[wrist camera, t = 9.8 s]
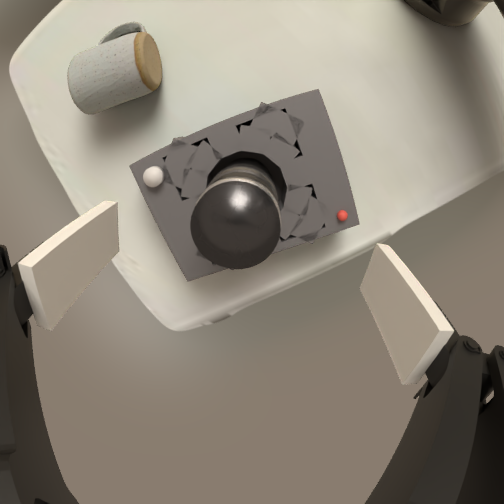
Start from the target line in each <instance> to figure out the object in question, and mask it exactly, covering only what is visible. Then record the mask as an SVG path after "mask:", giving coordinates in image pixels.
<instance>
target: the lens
mask: <svg viewBox="0 0 504 504" xmlns="http://www.w3.org/2000/svg"><path fill="white" fill-rule="evenodd" d="M190 230H191V235H192V239H193V241H194V244H195V245H196V247H197V249H198V250H199V251H200V253H201V254H202V255H203V256H204V257H205V258H207V259H208V260H209V261H211V262H213V263H214V264H216V265H219V266H222V267H225V268H230V269H243V268H249V267H252V266H255V265H257V264H259V263H261V262H262V261H264V260H265V259H266V258H267V257H268V256H269V255H270V254H271V253H272V252H273V251H274V249H275V247H276V246H277V243H278V241H279V237H280V231H281V215H280V209H279V201H278V196H277V192H276V188H275V185H274V183H273V181H272V177H271V174H270V172H269V170H268V169H267V167H266V166H265V165H264V164H263V163H261V162H260V161H258V160H255V159H252V158H239V159H236V160H234V161H232V162H230V163H229V164H228V165H226V167H225V168H224V169H223V170H221V171H220V172H219V173H218V174H217V175H216V176H215V177H214V179H213V180H212V181H211V182H210V183H209V185H208V186H207V188H206V189H205V191H204V192H203V193H202V195H201V196H200V197H199V199H198V201H197V202H196V205H195V207H194V210H193V212H192V216H191V221H190Z"/></svg>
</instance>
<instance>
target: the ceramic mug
mask: <svg viewBox="0 0 504 504" xmlns="http://www.w3.org/2000/svg"><path fill="white" fill-rule="evenodd" d="M134 31H141V32H136V33H130V34H127V35H124V36H121V37H118V36H120V35H122V34H125V33H129V32H134ZM117 37H118V38H117ZM115 38H116V39H115ZM161 80H162V66H161V59H160V54H159V51H158V48H157V45H156V43H155V41H154V39H153V38H152V36H151V35H150V34H148V33H147V31H146V29H145V28H144V26H143V25H142V24H141V23H138V22H130V23H125V24H122V25H120V26H118V27H116V28H114V29H112V30H111V31H109V32H108V33H107V34H106V35H105V36H104V37H103V38H102V40H101V41H100V42H99V44H98V45H97V46H95V47H92V48H90V49H87V50H85V51H83V52H80V53H79V54H77V55H75V56H74V58H73V59H72V60H71V62H70V65H69V68H68V87H69V91H70V94H71V97H72V99H73V101H74V103H75V104H76V106H77V107H78V108H79V109H80V110H81V111H82V112H84V113H86V114H96V113H99V112H101V111H103V110H106V109H108V108H111V107H114V106H116V105H119V104H122V103H124V102H127V101H130V100H133V99H136V98H139V97H142V96H145V95H147V94H149V93H151V92H153V91H154V90H156V89H157V88H158V87H159V85H160V83H161Z"/></svg>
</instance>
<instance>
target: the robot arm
mask: <svg viewBox="0 0 504 504" xmlns="http://www.w3.org/2000/svg"><path fill="white" fill-rule="evenodd" d="M405 1H406V2H407V3H408V4H409V5H410V6H412V7H413V8H414V9H415V10H417V11H418V12H420V13H421V14H423V15H424V16H426V17H427V18H429V19H431V20H433V21H435V22H437V23H440V24H443V25H446V26H460V25H463V24H466V23H469V22H471V21H472V20H473V19H474V18H475V17H476V16H477V15H478V14H479V13H480V12H481V11H482V10H483V8H484V7H485V6H486V5H487V4H488V3H490V2H493V1H494V2H495V4H496V5H497V7H498V9H499V10H500V12H501V14H502V16H503V18H504V0H405ZM118 252H119V236H118V206H117V202H113V201H104V202H102V203H100V204H99V205H97V206H96V207H94V208H93V209H91V210H89V211H88V212H86V213H85V214H83V215H82V216H80V217H79V218H77V219H76V220H74V221H73V222H71V223H70V224H69V225H67V226H66V227H64V228H63V229H61V230H60V231H59V232H57V233H56V234H54V235H53V236H52V237H50V238H49V239H48V240H46V241H44V242H42V243H41V244H40V245H38V246H37V247H36V248H35V249H33V250H32V251H31V252H30V253H29V254H27V255H26V256H25V257H23V258H22V259H21V260H19V261H18V262H17V263H16V264H15V265H14V266H13V267H11V264H10V260H9V256H8V252H7V248H6V247H5V246H4V245H0V504H79V503H78V502H77V500H76V499H75V497H74V496H73V495H72V493H71V492H70V491H69V490H68V488H67V487H66V484H65V482H64V480H63V478H62V475H61V472H60V469H59V467H58V464H57V461H56V459H55V455H54V452H53V449H52V446H51V443H50V439H49V436H48V432H47V428H46V425H45V421H44V417H43V412H42V408H41V403H40V398H39V393H38V387H37V381H36V374H35V367H34V359H33V349H32V337H31V326H30V322H29V320H28V319H29V318H30V316H31V315H32V314H34V317H35V320H36V323H37V325H38V326H39V327H42V328H44V329H47V330H49V331H52V330H53V328H54V327H55V326H56V325H57V323H58V322H59V321H60V319H61V318H62V317H63V316H64V314H65V313H66V312H67V311H68V309H69V308H70V307H71V305H72V304H73V303H74V302H75V301H76V299H77V298H78V297H79V296H80V295H81V294H82V292H83V291H84V290H85V289H86V288H87V286H88V285H89V284H90V283H91V282H92V281H93V280H94V278H95V277H96V276H97V275H98V274H99V273H100V272H101V270H102V269H103V268H104V267H105V266H106V265H107V264H108V263H109V262H110V261H111V259H112V258H113V257H114V256H115V255H116V254H117V253H118ZM360 290H361V292H362V294H363V297H364V299H365V301H366V303H367V305H368V307H369V309H370V311H371V313H372V316H373V318H374V320H375V322H376V324H377V326H378V329H379V331H380V333H381V335H382V338H383V340H384V342H385V344H386V347H387V349H388V351H389V354H390V355H391V359H392V361H393V363H394V366H395V368H396V371H397V373H398V376H399V378H400V381H401V383H402V385H405V384H417V382H418V381H419V380H420V379H421V378H422V376H423V375H424V374H425V373H426V375H427V378H428V380H427V382H426V383H425V384H424V385H423V387H422V388H421V389H420V390H419V391H418V393H417V394H416V395H415V396H414V399H416V398H417V397H418V396H419V399H418V402H417V404H416V407H415V409H414V412H413V414H412V417H411V419H410V421H409V424H408V426H407V428H406V430H405V433H404V435H403V437H402V439H401V441H400V443H399V445H398V447H397V449H396V451H395V453H394V455H393V457H392V459H391V461H390V463H389V465H388V466H387V468H386V470H385V472H384V473H383V475H382V477H381V479H380V481H379V482H378V484H377V485H376V487H375V489H374V490H373V492H372V493H371V495H370V496H369V498H368V500H367V501H366V503H365V504H504V347H502V346H499V345H497V346H495V347H494V349H493V350H492V352H491V353H490V354H486V353H483V352H482V349H481V347H480V346H479V344H478V343H477V342H476V341H475V340H473V339H472V338H470V337H468V336H459V334H458V333H457V331H456V330H455V328H454V327H453V325H452V324H451V322H450V321H449V320H448V318H446V315H445V314H444V313H443V312H442V310H441V309H440V307H439V306H438V304H437V303H436V302H435V301H434V300H433V299H431V297H430V296H429V295H428V293H427V292H426V291H425V289H424V288H423V287H422V285H421V284H420V283H419V282H418V280H417V279H416V278H415V276H414V275H413V274H412V273H411V272H410V270H409V269H408V268H407V267H406V265H405V264H404V263H403V262H402V260H401V259H400V258H399V257H398V256H397V255H396V253H395V252H394V251H393V250H392V249H391V248H390V246H388V245H383V244H378V243H376V246H375V249H374V252H373V255H372V258H371V260H370V263H369V266H368V268H367V271H366V274H365V276H364V279H363V281H362V284H361V286H360ZM493 390H494V397H493V398H492V399H491V400H490V401H489V402H488V403H487V404H486V398H487V397H488V396H489V395H490V394H491V392H492V391H493Z"/></svg>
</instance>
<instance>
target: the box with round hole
mask: <svg viewBox="0 0 504 504" xmlns="http://www.w3.org/2000/svg"><path fill="white" fill-rule="evenodd" d="M239 158H252V159H255V160H258V161H260V162H261V163H263V164H264V165H265V166H266V167H267V169H268V170H269V172H270V174H271V177H272V181H273V183H274V185H275V188H276V192H277V196H278V201H279V209H280V215H281V231H280V237H279V241H278V243H277V246H276V247H275V249H274V251H273V252H272V253H271V254H273V253H276V252H279V251H282V250H285V249H288V248H291V247H294V246H297V245H300V244H303V243H306V242H309V243H311V244H313V242H314V240H315V239H318V238H321V237H324V236H327V235H330V234H333V233H335V232H338V231H341V230H344V229H347V228H350V227H353V226H356V225H359V219H358V215H357V211H356V207H355V203H354V199H353V195H352V191H351V187H350V183H349V180H348V176H347V172H346V169H345V166H344V162H343V159H342V155H341V152H340V149H339V146H338V143H337V140H336V136H335V133H334V130H333V127H332V125H331V122H330V119H329V116H328V113H327V110H326V108H325V105H324V102H323V99H322V97H321V94H320V92H319V89H317V90H313V91H309V92H306V93H302V94H299V95H295V96H292V97H289V98H285V99H282V100H279V101H276V102H273V103H270V104H265V103H263V102H261V104H260V106H259V107H258V108H255V109H253V110H250V111H247V112H244V113H242V114H239V115H236V116H234V117H231V118H229V119H226V120H224V121H221V122H219V123H216V124H214V125H212V126H209V127H207V128H205V129H202V130H200V131H198V132H195V133H193V134H191V135H189V136H187V137H178V138H173V141H172V143H171V144H170V145H168V146H166V147H164V148H162V149H160V150H158V151H156V152H154V153H152V154H150V155H148V156H146V157H144V158H142V159H141V160H139V161H137V162H135V163H133V164H131V165H130V169H131V171H132V173H133V175H134V177H135V180H136V182H137V184H138V186H139V188H140V190H141V192H142V194H143V197H144V199H145V201H146V203H147V205H148V207H149V209H150V211H151V213H152V215H153V217H154V219H155V221H156V223H157V225H158V227H159V229H160V231H161V233H162V235H163V237H164V239H165V241H166V242H167V244H168V246H169V248H170V250H171V252H172V254H173V256H174V258H175V259H176V261H177V263H178V265H179V267H180V269H181V270H182V272H183V274H184V276H185V278H186V279H187V281H191V280H194V279H197V278H200V277H203V276H206V275H209V274H213V273H216V272H219V271H222V270H225V269H228V268H225V267H222V266H219V265H216V264H214V263H213V262H211V261H209V260H208V259H207V258H205V257H204V256H203V255H202V254H201V253H200V251H199V250H198V249H197V247H196V245H195V244H194V241H193V239H192V235H191V230H190V221H191V216H192V212H193V210H194V207H195V205H196V202H197V201H198V199H199V197H200V196H201V195H202V193H203V192H204V191H205V189H206V188H207V186H208V185H209V183H210V182H211V181H212V180H213V179H214V177H215V176H216V175H217V174H218V173H219V172H220V171H221V170H223V169H224V168H225V167H226V165H228V164H229V163H230V162H232V161H234V160H236V159H239ZM229 269H230V268H229ZM232 270H234V269H232Z"/></svg>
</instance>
